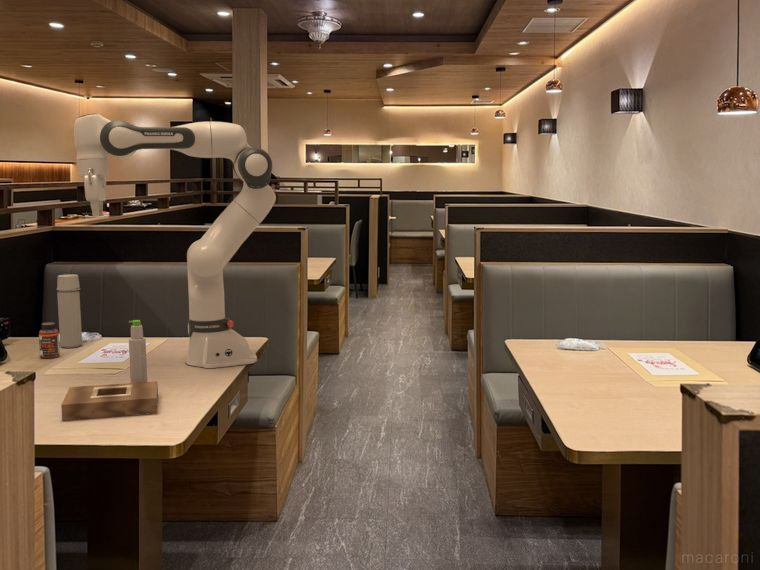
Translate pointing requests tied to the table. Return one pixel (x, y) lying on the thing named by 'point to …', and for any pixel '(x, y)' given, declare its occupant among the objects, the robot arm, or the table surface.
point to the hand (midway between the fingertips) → (98, 216)
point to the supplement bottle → (49, 341)
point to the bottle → (137, 353)
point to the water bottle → (69, 311)
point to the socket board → (110, 400)
